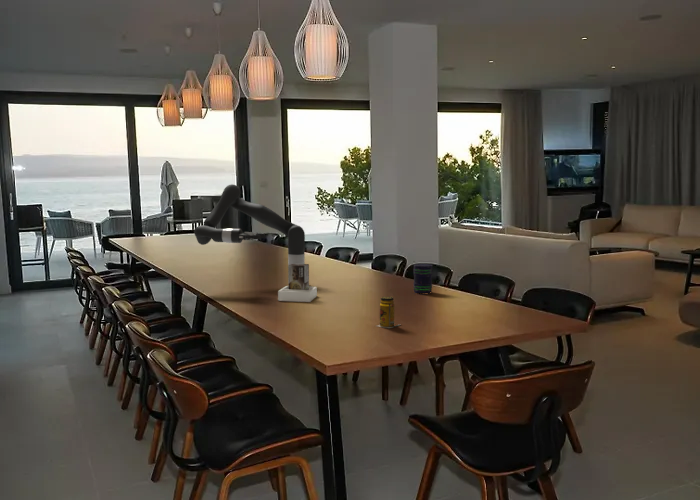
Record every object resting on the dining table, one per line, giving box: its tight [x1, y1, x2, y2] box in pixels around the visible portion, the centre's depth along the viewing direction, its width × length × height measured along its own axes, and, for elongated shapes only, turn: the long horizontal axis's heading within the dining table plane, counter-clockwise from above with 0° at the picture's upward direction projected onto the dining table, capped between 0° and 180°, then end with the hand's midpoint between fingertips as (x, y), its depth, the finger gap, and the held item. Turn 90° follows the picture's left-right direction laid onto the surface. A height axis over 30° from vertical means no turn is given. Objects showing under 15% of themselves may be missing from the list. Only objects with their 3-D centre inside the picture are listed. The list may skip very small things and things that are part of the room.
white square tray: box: [277, 285, 318, 303], centre depth 330 cm, size 16×16×5 cm
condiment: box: [376, 296, 400, 329], centre depth 271 cm, size 7×8×12 cm
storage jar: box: [412, 263, 433, 294], centre depth 347 cm, size 10×10×15 cm
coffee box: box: [287, 263, 310, 290], centre depth 332 cm, size 9×6×16 cm
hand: (262, 236), depth 340 cm, fingers open, 8 cm apart
